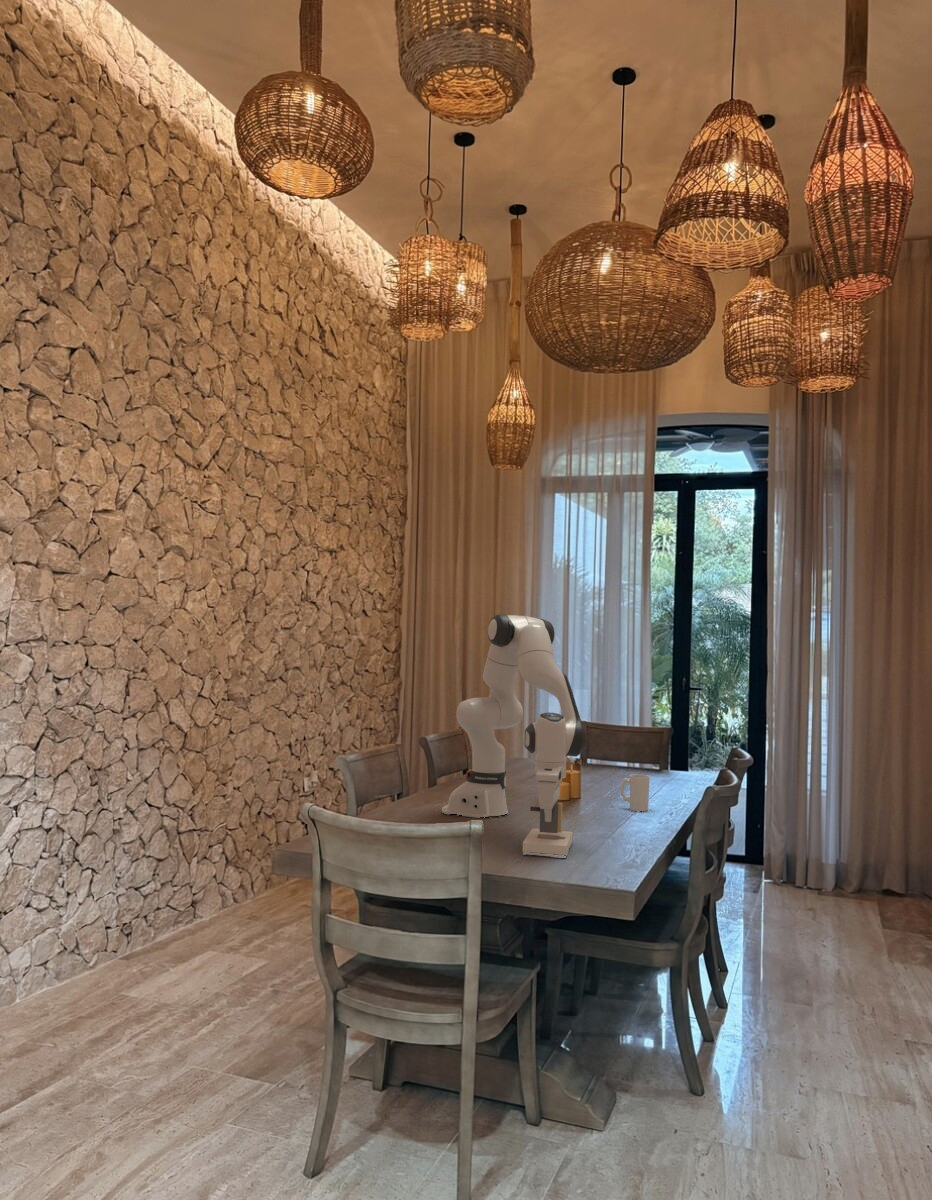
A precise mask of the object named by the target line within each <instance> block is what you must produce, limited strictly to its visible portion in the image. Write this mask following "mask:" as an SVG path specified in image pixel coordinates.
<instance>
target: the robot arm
mask: <svg viewBox="0 0 932 1200" xmlns="http://www.w3.org/2000/svg"><path fill="white" fill-rule="evenodd" d="M555 635H556V634H555V628H554V626H553V623H552V622H551V621H548V620H546V619H543V618H537V617H534V616H532V617H531V616H527V615H514V614H506V613H504V614H502V613H501V614H499V613H498V614H495V615H494V616H493V617H491V619H490V621H489V623H488V627H487V637H488V640H489V642H490V643H491V644H490V646H489V649H488V653H487V657H486V661H485V664H484V669H483V673H482V679H483V681H484V683H485V684H486V685H487V686H488V687H489V695H488V697H487V696H485V697H472V698H468V699H465V700H462V701H461V702H459V704H458V706H457V709H456V713H455V714H456V715H455V717H456V721H457V723H458V725H459V726H460V728H462V729H463V731H465V733H466V734H467V736H468V738H469V741H470V745H471V754H472V755H471V756H472V759H471V760H472V761H471V762H472V763H471V764H472V765H471V769H468V770H467V771H466V772H465V773H466V774H465V780H466V781H464V782H463V783H462V784H460V785H459V786H458V787H456V788H455V789H454V790H453V791H452V792H451V793H450V795H449V798H448V804H446V805H444V806H442V808H441V813H442V814H443V813H444V814H446V815H450V814H457V815H456V816H459V815H462V816H461V817H468V818H475V819H481V818H480V817H484V818H483V819H486V818H485V817H488V816H498V815H504V814H507V813H508V814H509V810H508V805H507V800H506V787H507V771H506V749H505V747H504V745H503V744H502V743H500V741H498V740H497V738H496V736H495V730H507V729H511V728H513V727H516V726H518V725H519V724H520V723H522V720H523V716H524V709H523V706H522V704H521V702H520V701H519V699H518V698H517V695H516V690H515V689H516V688H515V687H516V680H517V675H518V671H519V675H520V676H521V678H522V679H523V680H524V681H525V682H526V683H527V684H528V685H530V686H532V687H533V688H537V689H540V690H542V691H546V692H547V693H549V694H551V695H553V696H554V697H555V699H557V700H558V703H559V706H560V710H561V713H562V714H560V713H557V712H543V713H540V714H539V715H538V717H537V721H535V722H531V723H529V724H528V726H526V728H525V729H524V742H523V743H524V745H523V746H524V748H525V749H526V750H527V751H528V752H529V753H530V754H533V755H536V756H535V761H534V768H535V769H534V776H535V781H536V782H537V798H538V807H540V809H544V813H545V821H546V822H551V820H552V808H553V806H554V805H555V803H556V802H558V800H559V798H560V796H561V784H562V779H565V778H567V757H576V758H577V757H578V756H580V755H581V754H582V753H583V752H584V751H585V750H586V749H587V747H588V736H587V734H588V733H587V731H586V728H585V726H584V723H583V721H582V719H581V715H580V713H579V709H578V706H577V703H576V700H575V696H574V692H573V689H572V686H571V683H570V681H569V678H568V676H567V674H566V673H564V672H563V671H561V670H560V669H559V667H558V665H557V664H556V661H555V656H554V649H553V643H554V640H555ZM508 814H507V815H508Z"/></svg>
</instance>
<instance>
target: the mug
mask: <svg viewBox="0 0 932 1200" xmlns="http://www.w3.org/2000/svg"><path fill="white" fill-rule="evenodd" d="M627 783H628V784H629V796H627V795H626V794H625V791H624V788H625V784H627ZM649 793H650V775H647V774H635V773H634V774H630V775H629V778H627V777H624V778H623V779H622V782H621V784H620V794H621V797H622V800H623V801H624V802H628V803H629V810H630V811H631V810H633V811H632V812H635V811H642V812H641V813H644V812H643V811H647V812H648V811H649V797H650V794H649Z"/></svg>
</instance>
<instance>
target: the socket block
mask: <svg viewBox="0 0 932 1200" xmlns="http://www.w3.org/2000/svg"><path fill="white" fill-rule="evenodd" d="M573 834H574V832H573V831H568V830H562V832H561V833H547V832H540V828H531V829H530V830H529V832H528V834H527V835H526V836H525V838H524V840H523V841H522V853H523V852H530V853H540V854H553V855H564V856H566V854H567V852H568V850H569V848H570V846H571V843H572V844H573ZM571 847H572V846H571ZM570 849H571V848H570ZM569 851H570V850H569Z"/></svg>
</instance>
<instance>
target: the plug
mask: <svg viewBox="0 0 932 1200" xmlns="http://www.w3.org/2000/svg"><path fill="white" fill-rule="evenodd" d="M529 808H530V809H529V810H530V812H539V829H540V832H547V833H561V832H562V831H563V802H559V801H557V802H556V803H555V805H554V806H553V808H552V820H551V822H546V821H545V813H544V809H540V807H539V806H530V807H529Z"/></svg>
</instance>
